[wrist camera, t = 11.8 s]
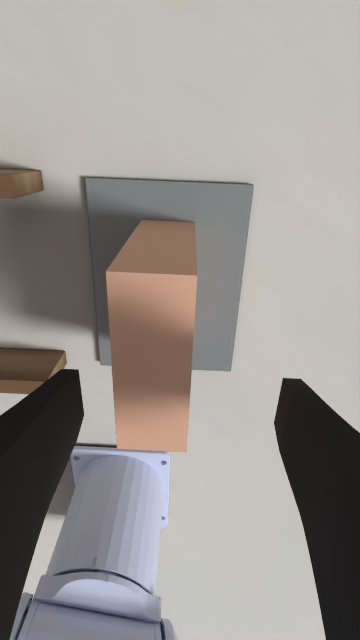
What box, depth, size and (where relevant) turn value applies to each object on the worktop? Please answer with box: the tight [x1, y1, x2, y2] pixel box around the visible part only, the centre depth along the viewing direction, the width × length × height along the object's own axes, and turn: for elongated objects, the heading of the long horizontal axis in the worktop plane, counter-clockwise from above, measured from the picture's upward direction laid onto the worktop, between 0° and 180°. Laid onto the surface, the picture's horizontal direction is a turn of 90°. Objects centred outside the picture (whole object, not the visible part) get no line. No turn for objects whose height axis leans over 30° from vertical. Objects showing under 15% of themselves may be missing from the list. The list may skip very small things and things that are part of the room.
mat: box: [85, 177, 254, 371], centre depth 21 cm, size 12×9×1 cm
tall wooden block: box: [106, 220, 197, 452], centre depth 17 cm, size 8×3×9 cm, turn 178°
